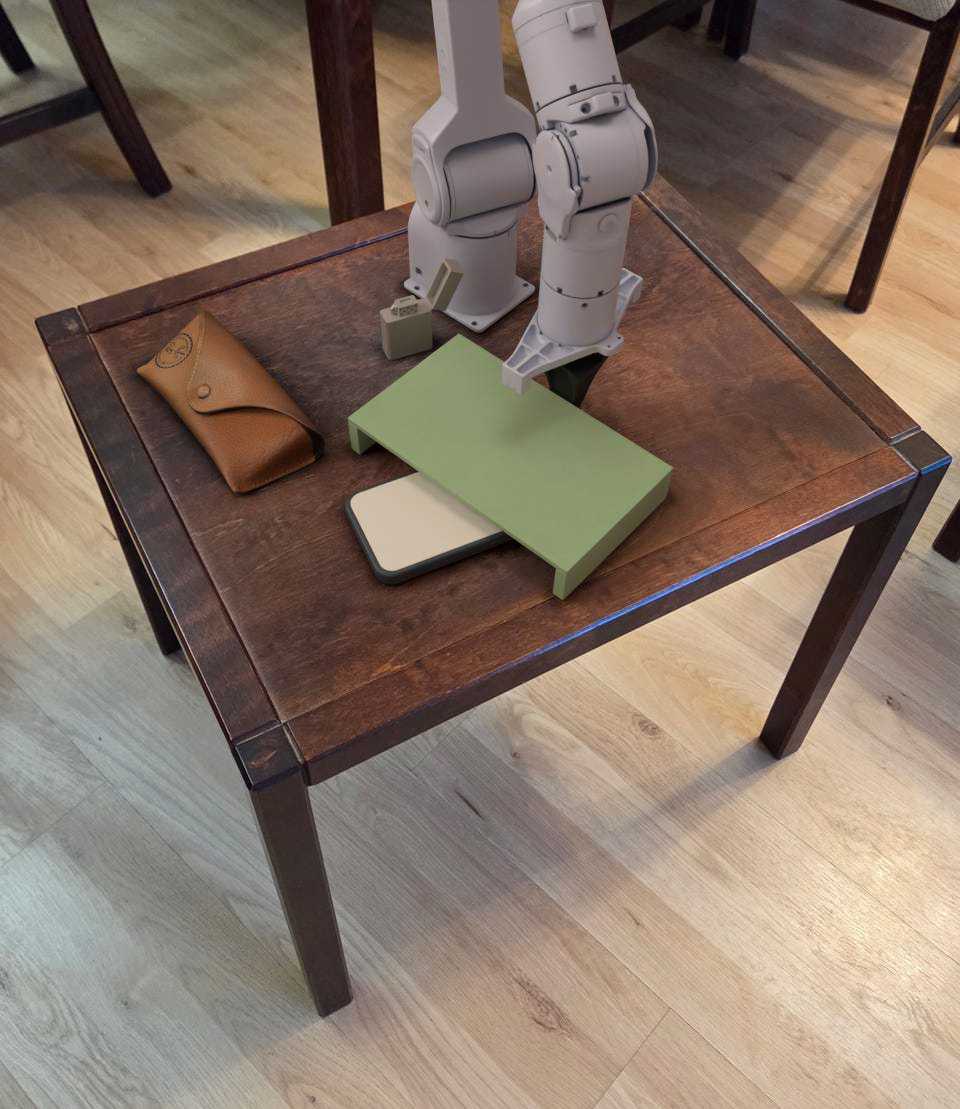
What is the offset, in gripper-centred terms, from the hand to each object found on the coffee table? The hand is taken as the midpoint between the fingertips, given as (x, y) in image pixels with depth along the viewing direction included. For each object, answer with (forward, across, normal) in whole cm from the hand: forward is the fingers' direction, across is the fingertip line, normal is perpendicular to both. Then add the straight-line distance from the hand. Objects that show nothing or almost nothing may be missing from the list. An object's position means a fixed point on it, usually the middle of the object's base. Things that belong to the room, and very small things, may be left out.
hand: (565, 406), depth 86 cm
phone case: (+2, -13, 0) cm, 13 cm away
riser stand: (+2, -7, 0) cm, 8 cm away
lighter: (+2, -1, +15) cm, 15 cm away
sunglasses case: (+2, -18, +21) cm, 28 cm away
